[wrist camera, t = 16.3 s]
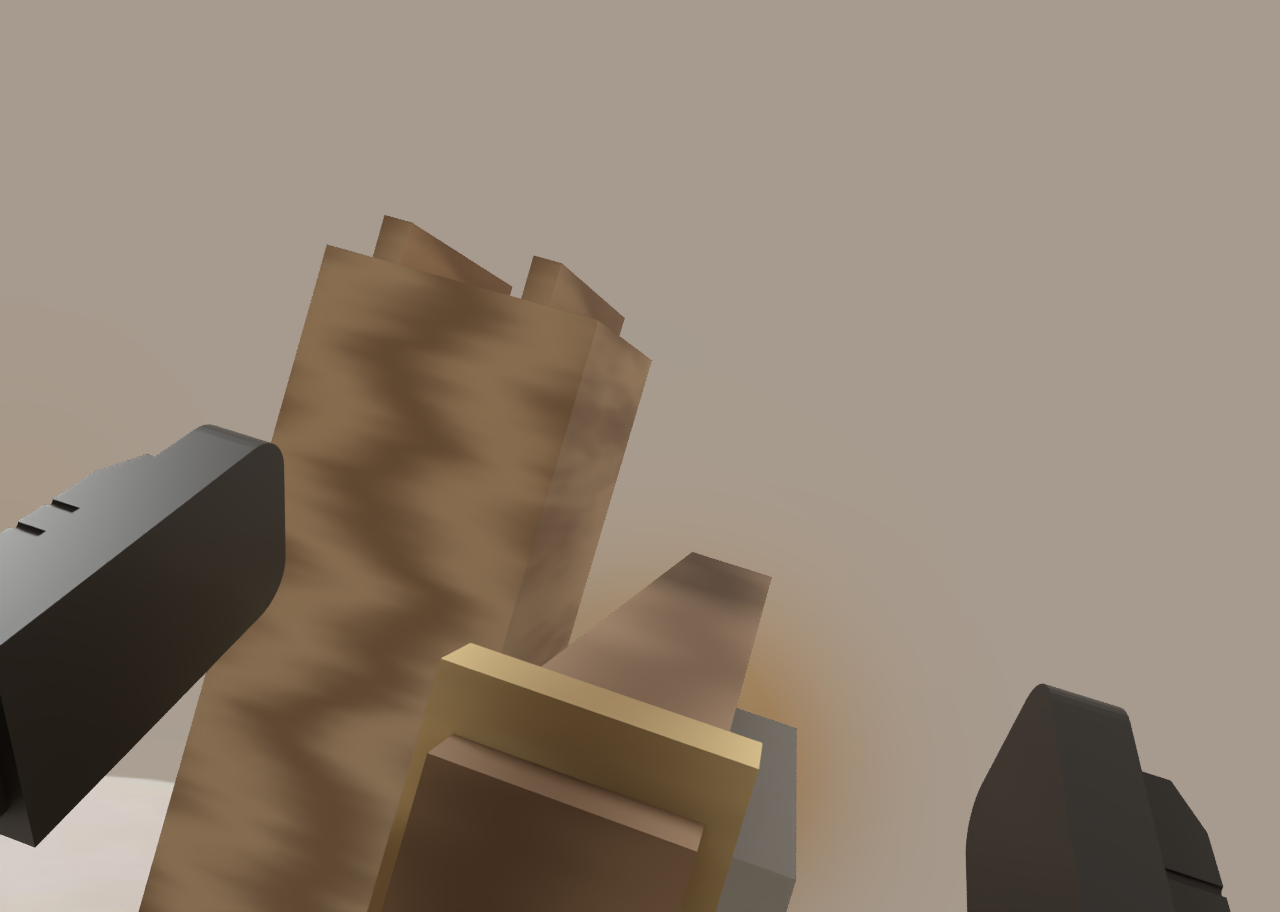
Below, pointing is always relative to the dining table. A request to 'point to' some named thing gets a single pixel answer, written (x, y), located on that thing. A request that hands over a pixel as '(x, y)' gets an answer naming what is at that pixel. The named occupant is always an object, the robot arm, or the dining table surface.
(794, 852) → the grey block
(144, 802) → the dining table surface
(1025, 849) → the robot arm
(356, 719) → the oak stand
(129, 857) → the dining table surface
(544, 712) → the walnut bar
